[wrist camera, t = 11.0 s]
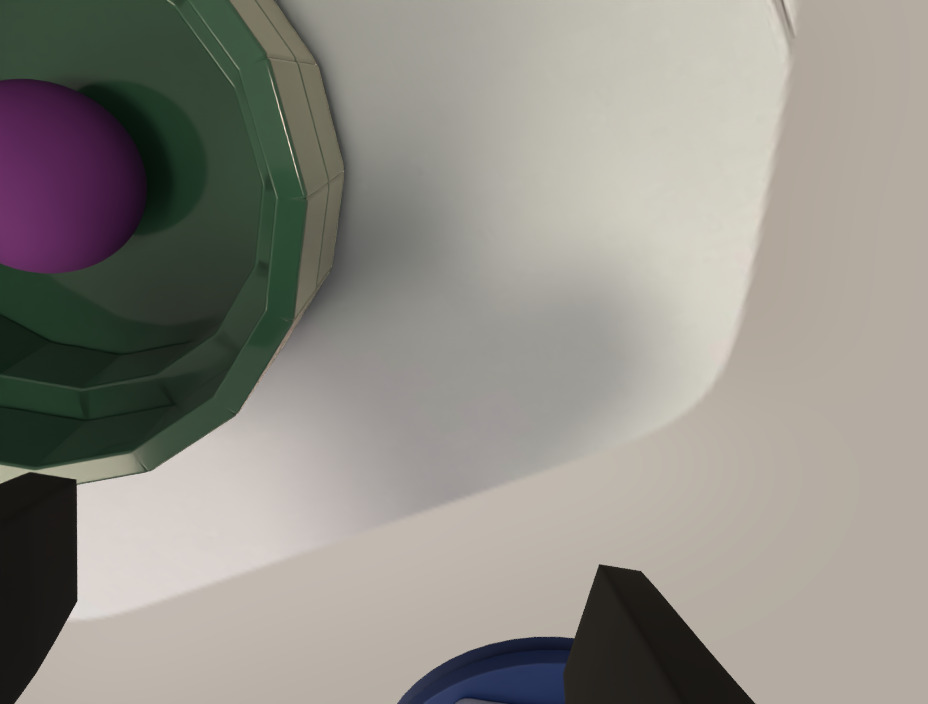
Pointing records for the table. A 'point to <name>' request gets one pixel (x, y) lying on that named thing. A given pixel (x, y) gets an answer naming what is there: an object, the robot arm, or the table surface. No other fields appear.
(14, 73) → the bowl
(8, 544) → the robot arm
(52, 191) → the ball
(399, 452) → the table surface
